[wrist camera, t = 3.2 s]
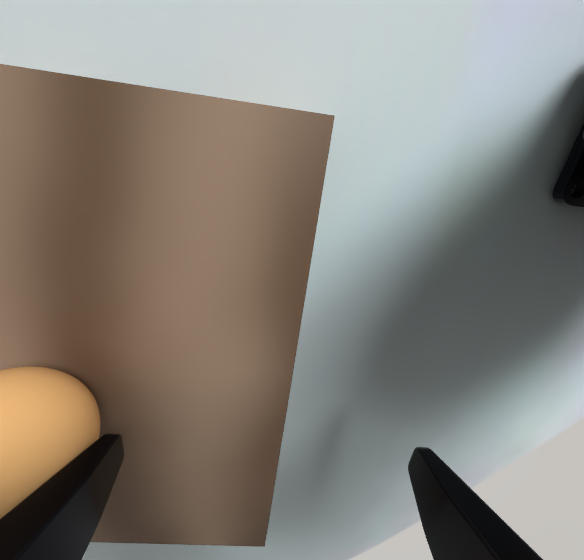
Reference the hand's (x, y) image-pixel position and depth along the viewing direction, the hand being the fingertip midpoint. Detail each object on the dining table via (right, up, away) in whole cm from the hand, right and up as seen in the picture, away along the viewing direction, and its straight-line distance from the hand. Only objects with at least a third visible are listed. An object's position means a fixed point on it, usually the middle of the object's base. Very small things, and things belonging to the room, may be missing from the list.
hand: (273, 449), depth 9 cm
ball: (-7, +1, -1) cm, 7 cm away
